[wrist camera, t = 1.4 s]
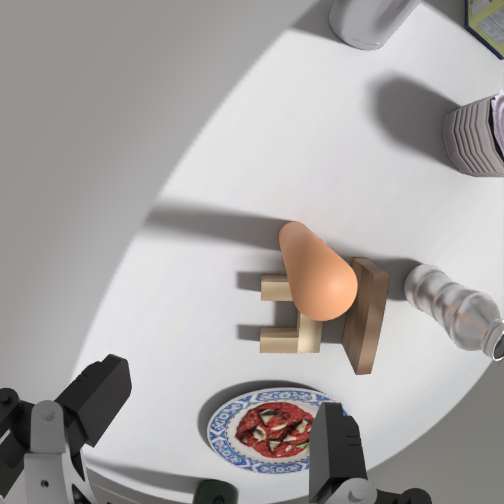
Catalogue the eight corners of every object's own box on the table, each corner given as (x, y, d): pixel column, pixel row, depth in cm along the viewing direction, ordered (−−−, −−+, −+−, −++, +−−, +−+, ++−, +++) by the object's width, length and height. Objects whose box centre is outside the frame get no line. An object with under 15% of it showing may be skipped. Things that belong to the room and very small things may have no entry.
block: (261, 274, 37) (261, 281, 34) (322, 275, 36) (327, 282, 33) (260, 341, 39) (259, 352, 36) (316, 341, 38) (319, 352, 35)
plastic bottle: (433, 298, 36) (515, 362, 17) (397, 305, 37) (473, 382, 17) (436, 258, 35) (531, 304, 15) (399, 263, 35) (490, 321, 16)
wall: (352, 257, 36) (373, 274, 28) (366, 257, 36) (390, 274, 28) (341, 344, 38) (355, 375, 30) (354, 343, 38) (370, 373, 30)
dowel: (278, 221, 35) (293, 255, 16) (310, 221, 35) (360, 256, 16) (278, 252, 36) (289, 320, 17) (308, 253, 36) (353, 320, 16)
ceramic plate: (184, 432, 44) (180, 443, 42) (269, 352, 39) (269, 363, 36) (286, 477, 47) (286, 487, 44) (377, 415, 41) (381, 425, 39)
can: (438, 99, 30) (485, 77, 18) (487, 118, 30) (533, 107, 18) (442, 171, 32) (496, 167, 21) (490, 183, 32) (540, 186, 20)
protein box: (498, 20, 23) (535, -2, 8) (501, 61, 26) (548, 41, 11) (463, -9, 22) (497, -39, 7) (463, 28, 26) (508, -3, 10)
